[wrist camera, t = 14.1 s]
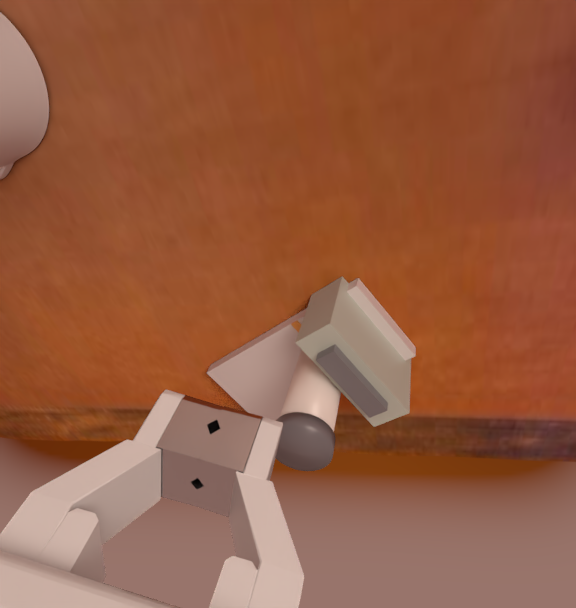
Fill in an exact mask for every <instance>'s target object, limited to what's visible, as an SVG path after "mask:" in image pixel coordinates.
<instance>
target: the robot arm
mask: <svg viewBox="0 0 576 608" xmlns="http://www.w3.org/2000/svg"><path fill="white" fill-rule="evenodd" d="M48 119H49V100H48V93H47V88H46V84H45V81H44V77H43V74H42V72H41V69H40V67H39V64H38V62H37V60H36V58H35V56H34V54H33V52H32V51H31V49H30V47H29V46H28V44H27V42H26V41H25V39H24V38H23V37H22V35H21V34H20V33H19V31H18V30H17V29H16V28H15V27H14V25H13V24H12V23H11V22H10V21H9V20H8V19H7V18H6V17H5V16H4V15H3V14H2V13H1V12H0V179H3V178H5V177H6V176H7V175H8V173H9V172H10V170H11V168H12V166H13V164H14V162H15V161H16V160H18V159H19V158H21V157H23V156H25V155H27V154H29V153H30V152H32V151H33V150H34V149H35V148H36V147H37V146H38V145H39V144H40V142H41V140H42V139H43V137H44V135H45V132H46V129H47V125H48ZM282 428H283V423H282V422H279V421H275V420H272V419H268V418H265V417H262V416H259V415H255V414H251V413H247V412H244V411H240V410H236V409H233V408H229V407H225V406H224V407H222V406H219V405H216V404H213V403H209V402H206V401H203V400H200V399H197V398H193V397H190V396H187V395H183V394H180V393H176V392H173V391H170V390H165V391H164V392H163V393H162V394H161V395H160V397H159V398H158V400H157V401H156V403H155V405H154V406H153V408H152V410H151V411H150V413H149V415H148V416H147V418H146V420H145V421H144V423H143V425H142V426H141V428H140V430H139V431H138V433H137V435H136V436H135V438H134V439H133V441H131V440H128V439H127V440H125V441H123V442H121V443H119V444H118V445H116V446H114V447H112V448H110V449H108V450H107V451H105V452H103V453H101V454H99V455H98V456H96V457H94V458H92V459H90V460H88V461H87V462H85V463H83V464H81V465H79V466H78V467H76V468H74V469H72V470H70V471H68V472H67V473H65V474H63V475H61V476H59V477H58V478H56V479H54V480H52V481H50V482H48V483H47V484H45V485H43V486H41V487H39V488H38V489H36V490H34V491H32V492H31V494H30V495H29V496H28V497H27V499H26V500H25V502H24V503H23V504H22V506H21V507H20V508H19V510H18V511H17V512H16V514H15V515H14V516H13V518H12V519H11V520H10V522H9V523H8V524H7V526H6V527H5V528H4V530H3V531H2V533H1V534H0V608H180V607H177V606H173V605H170V604H167V603H164V602H161V601H158V600H155V599H151V598H149V597H145V596H142V595H139V594H136V593H133V592H130V591H127V590H124V589H120V588H117V587H114V586H111V585H108V584H105V583H103V581H104V579H105V577H106V574H105V566H104V559H103V551H102V545H103V544H104V543H105V542H107V541H108V540H109V539H111V538H112V537H113V536H114V535H116V534H117V533H118V532H119V531H121V530H122V529H123V528H124V527H126V526H127V525H128V524H130V523H131V522H132V521H134V520H135V519H136V518H137V517H139V516H140V515H141V514H143V513H144V512H145V511H146V510H148V509H149V508H150V507H152V506H153V505H154V504H155V503H157V502H158V501H159V500H160V499H161V497H163V498H167V499H171V500H175V501H178V502H182V503H186V504H190V505H193V506H197V507H200V508H203V509H206V510H209V511H212V512H215V513H218V514H221V515H224V516H227V517H229V523H230V528H231V533H232V538H233V543H234V547H235V552H236V557H235V556H232V557H230V558H228V559H227V560H225V563H224V566H223V569H222V572H221V575H220V577H219V580H218V583H217V586H216V589H215V592H214V595H213V598H212V601H211V604H210V607H209V608H298V607H299V601H300V596H301V590H302V585H303V580H304V574H303V571H302V568H301V565H300V562H299V559H298V556H297V553H296V550H295V547H294V544H293V541H292V538H291V536H290V533H289V530H288V527H287V524H286V521H285V518H284V515H283V512H282V509H281V506H280V503H279V500H278V497H277V494H276V491H275V488H274V485H273V482H271V481H270V477H271V474H272V470H273V466H274V462H275V458H276V453H277V449H278V445H279V441H280V436H281V432H282Z"/></svg>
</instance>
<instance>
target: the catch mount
mask: <svg viewBox="0 0 576 608" xmlns="http://www.w3.org/2000/svg"><path fill="white" fill-rule="evenodd" d="M301 349H302V350H303V351H304V352H305V354H306V355H307V356H308V357H309V358H310V359H311V360H312V361H313V362H314V363H315V364H316V365H317V366H318V367H319V369H320V370H321V371H322V372H323V373H324V374H325V375H326V376H327V377H328V378H329V379H330V380H331V381H332V382H333V384H334V385H335V386H336V387H337V388H338V389H339V390H340V391H341V392H342V393H343V394H344V395H345V396H346V397H347V399H348V400H349V401H350V402H351V403H352V404H353V405H354V406H355V407H356V408H357V409H358V410H359V411H360V412H361V414H362V415H363V416H364V417H365V418H366V419H367V420H368V421H369V422H370V423H371V424H372V425H373V426H374V427H375V426H378V425H380V424H383V423H385V422H388V421H390V420H393V419H395V418H398V417H401V416H403V415H406V414H408V413H410V378H411V358H413V357H415V354H416V347H415V346H414V345H413V343H412V342H411V341H410V340H409V338H408V337H407V336H406V335H405V334H404V332H403V331H402V330H401V329H400V328H399V326H398V325H397V324H396V323H395V322H394V320H393V319H392V318H391V317H390V315H389V314H388V313H387V312H386V311H385V309H384V308H383V307H382V306H381V305H380V303H379V302H378V301H377V300H376V299H375V297H374V296H373V295H372V294H371V293H370V291H369V290H368V289H367V288H366V286H365V285H364V284H363V283H362V282H361V280H360V279H359V278H357V279H355V280H354V281H352V282H350V283H348V282H347V281H346V280H345V279H344V278H343V276H342V277H340V278H339V279H337V280H335V281H334V282H332V283H330V284H329V285H327V286H325V287H324V288H322V289H320V290H319V291H317V292H315V293H314V294H312V295H311V298H310V301H309V304H308V307H307V308H306V309H304V310H303V311H301V312H299V313H298V314H296V315H294V316H293V317H291V318H289V319H287V320H286V321H284V322H282V323H281V324H279V325H277V326H276V327H274V328H272V329H270V330H269V331H267V332H265V333H264V334H262V335H260V336H259V337H257V338H255V339H253V340H252V341H250V342H248V343H247V344H245V345H243V346H242V347H240V348H238V349H236V350H235V351H233V352H231V353H230V354H228V355H226V356H225V357H223V358H221V359H220V360H218V361H216V362H214V363H213V364H211V365H210V367H209V369H208V371H207V374H208V375H209V376H210V377H211V378H212V379H213V380H214V381H215V382H216V383H218V384H219V385H220V386H221V387H222V388H223V389H224V390H225V391H226V392H227V393H228V394H229V395H230V396H231V397H232V398H233V399H234V400H235V401H236V402H237V403H238V404H239V405H240V406H241V407H243V408H244V409H245V410H246V411H247V412H248V413H251V414H255V415H259V416H262V417H265V418H268V419H272V420H277V419H278V418H279V417H280V415H281V412H282V408H283V405H284V402H285V399H286V396H287V393H288V390H289V387H290V383H291V380H292V377H293V374H294V371H295V368H296V365H297V361H298V358H299V355H300V352H301Z"/></svg>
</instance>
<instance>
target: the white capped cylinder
mask: <svg viewBox="0 0 576 608" xmlns="http://www.w3.org/2000/svg"><path fill="white" fill-rule="evenodd" d="M340 396H341V391H340V390H339V389H338V388H337V387H336V386H335V385H334V384H333V382H332V381H331V380H330V379H329V378H328V377H327V376H326V375H325V374H324V373H323V372H322V371H321V370H320V369H319V367H318V366H317V365H316V364H315V363H314V362H313V361H312V360H311V359H310V358H309V357H308V356H307V355H306V354H305V352H304V351H303V350H302V349H301V352H300V355H299V358H298V361H297V365H296V368H295V371H294V374H293V377H292V380H291V383H290V387H289V390H288V393H287V396H286V399H285V402H284V405H283V408H282V412H281V415H280V417H279V418H278V419H277V420H276V421H279V422H282V423H283V428H282V432H281V436H280V441H279V445H278V449H277V453H276V459H277V460H278V461H280V462H281V463H283V464H285V465H286V466H289V467H291V468H293V469H297V470H302V471H315V470H319V469H322V468H324V467H325V466H327V465H328V464H329V463H330V462H331V460H332V456H333V451H334V446H335V434H334V427H335V422H336V417H337V411H338V406H339V401H340Z"/></svg>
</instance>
